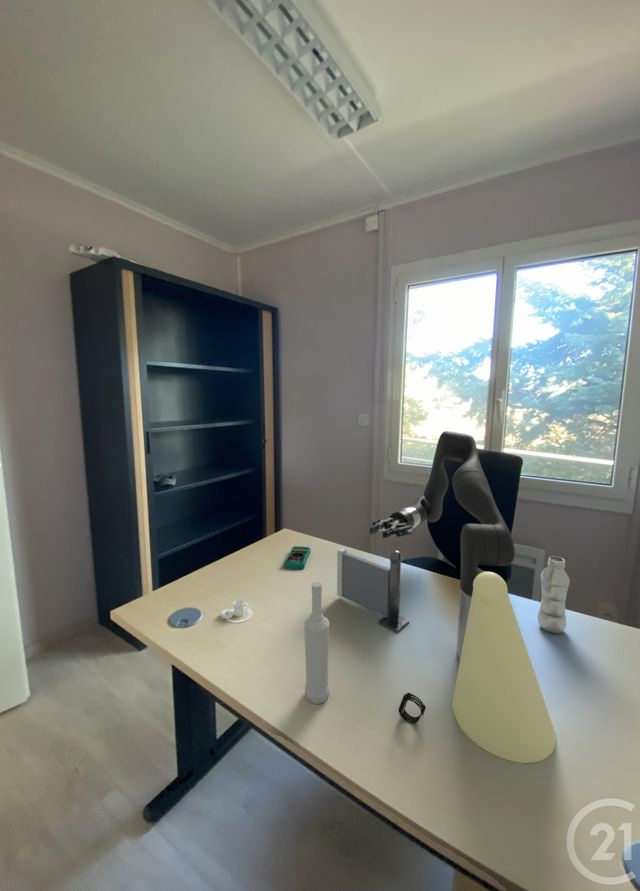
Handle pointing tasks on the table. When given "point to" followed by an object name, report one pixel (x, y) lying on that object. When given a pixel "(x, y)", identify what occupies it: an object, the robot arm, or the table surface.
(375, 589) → the gate
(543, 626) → the plastic bottle
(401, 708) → the smartwatch
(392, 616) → the gate post
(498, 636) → the cone light
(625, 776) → the table surface
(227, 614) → the teacup and saucer
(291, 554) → the digital multimeter
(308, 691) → the bottle
